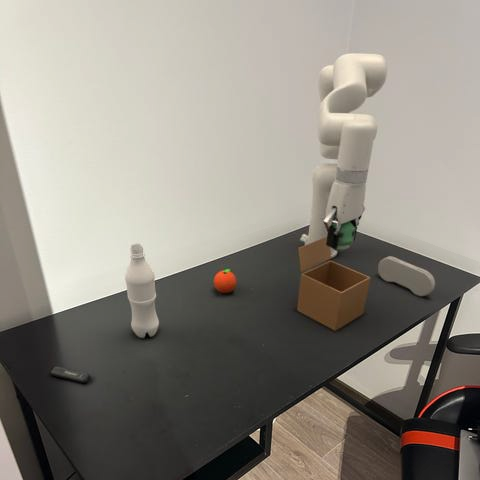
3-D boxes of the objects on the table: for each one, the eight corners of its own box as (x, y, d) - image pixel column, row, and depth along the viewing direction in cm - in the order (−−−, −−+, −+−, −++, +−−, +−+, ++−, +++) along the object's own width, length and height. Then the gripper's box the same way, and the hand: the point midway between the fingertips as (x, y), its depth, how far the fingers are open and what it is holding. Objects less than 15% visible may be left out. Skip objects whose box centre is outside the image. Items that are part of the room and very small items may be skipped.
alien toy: (334, 258, 117) (340, 221, 111) (320, 246, 123) (325, 210, 117) (358, 255, 118) (364, 218, 113) (343, 243, 125) (349, 208, 119)
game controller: (431, 298, 140) (439, 274, 135) (427, 300, 138) (434, 276, 134) (379, 274, 152) (384, 252, 147) (375, 276, 151) (380, 253, 146)
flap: (301, 271, 125) (300, 271, 125) (331, 258, 132) (330, 258, 133) (299, 248, 122) (298, 247, 122) (329, 235, 130) (328, 235, 130)
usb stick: (50, 376, 105) (48, 371, 104) (57, 369, 107) (55, 364, 106) (85, 385, 103) (84, 380, 102) (92, 378, 105) (91, 373, 104)
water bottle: (164, 328, 122) (157, 242, 109) (151, 342, 117) (142, 254, 103) (140, 322, 124) (130, 238, 110) (127, 337, 119) (114, 249, 105)
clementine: (221, 282, 144) (221, 262, 141) (241, 287, 142) (241, 267, 138) (209, 294, 138) (209, 273, 134) (230, 299, 136) (230, 278, 132)
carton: (296, 310, 132) (300, 274, 125) (325, 295, 139) (330, 260, 133) (335, 331, 123) (341, 293, 117) (363, 313, 131) (370, 277, 125)
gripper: (359, 166, 117) (348, 230, 127) (316, 178, 107) (308, 247, 117) (384, 172, 112) (371, 239, 122) (342, 185, 102) (331, 257, 112)
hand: (340, 242), depth 119 cm, fingers closed on alien toy, 7 cm apart
